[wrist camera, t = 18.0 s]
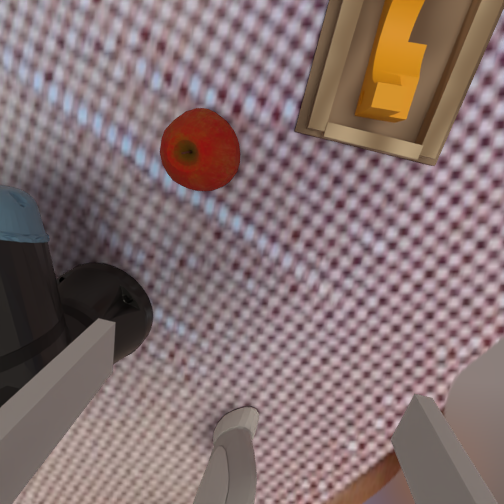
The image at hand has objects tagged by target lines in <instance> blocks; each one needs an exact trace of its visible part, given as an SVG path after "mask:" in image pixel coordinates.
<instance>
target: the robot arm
mask: <svg viewBox="0 0 504 504" xmlns="http://www.w3.org/2000/svg"><path fill="white" fill-rule="evenodd" d="M48 241H49V235H48V234H47V233H45V230H44V227H43V223H42V220H41V216H40V213H39V209H38V206H37V204H36V202H35V200H34V199H33V198H32V197H31V196H30V195H29V194H27V193H26V192H24V191H22V190H20V189H17V188H14V187H10V186H3V185H0V504H12V503H13V502H14V501H15V499H16V498H17V497H18V495H19V494H20V493H21V491H22V490H23V489H24V487H25V486H26V485H27V484H28V482H29V481H30V480H31V478H32V477H33V476H34V474H35V473H36V472H37V470H38V469H39V468H40V467H41V465H42V464H43V463H44V461H45V460H46V459H47V457H48V456H49V455H50V453H51V452H52V451H53V449H54V448H55V447H56V446H57V444H58V443H59V442H60V440H61V439H62V438H63V436H64V435H65V434H66V432H67V431H68V430H69V429H70V427H71V426H72V425H73V423H74V422H75V421H76V419H77V418H78V417H79V415H80V414H81V413H82V412H83V410H84V409H85V408H86V406H87V405H88V404H89V402H90V401H91V400H92V398H93V397H94V396H95V395H96V393H97V392H98V391H99V389H100V388H101V387H102V385H103V384H104V383H105V381H106V380H107V379H108V378H109V376H110V375H111V374H112V372H113V364H114V363H116V362H118V361H119V360H121V359H122V358H124V357H126V356H128V355H130V354H131V353H133V352H134V351H135V350H136V349H137V348H138V347H139V346H140V345H141V344H142V342H143V341H144V340H145V338H146V337H147V335H148V334H149V332H150V329H151V326H152V320H153V314H152V308H151V304H150V301H149V299H148V297H147V295H146V293H145V292H144V290H143V289H142V287H141V286H140V285H139V284H138V283H137V282H136V281H135V280H134V279H133V278H132V277H131V276H129V275H128V274H127V273H125V272H123V271H122V270H120V269H118V268H115V267H113V266H110V265H106V264H100V263H88V264H83V265H79V266H77V267H75V268H73V269H71V270H69V271H68V272H66V273H64V274H63V275H61V276H60V277H59V278H57V279H56V277H55V273H54V268H53V264H52V259H51V255H50V250H49V246H48ZM391 442H392V444H393V447H394V450H395V452H396V455H397V457H398V460H399V462H400V465H401V468H402V470H403V473H404V475H405V478H406V481H407V483H408V486H409V488H410V491H411V494H412V496H413V499H414V501H415V504H498V503H497V501H496V500H495V498H494V496H493V495H492V493H491V491H490V490H489V488H488V487H487V485H486V484H485V482H484V480H483V479H482V477H481V475H480V474H479V472H478V471H477V469H476V467H475V466H474V464H473V463H472V461H471V459H470V458H469V456H468V455H467V453H466V451H465V450H464V448H463V447H462V445H461V443H460V442H459V440H458V439H457V437H456V435H455V434H454V432H453V430H452V429H451V427H450V426H449V424H448V422H447V421H446V419H445V418H444V416H443V414H442V413H441V411H440V410H439V408H438V406H437V405H436V403H435V402H434V400H433V398H430V397H426V396H422V395H417V394H414V396H413V398H412V400H411V402H410V404H409V405H408V407H407V409H406V411H405V413H404V415H403V417H402V419H401V421H400V423H399V425H398V426H397V428H396V430H395V432H394V434H393V436H392V438H391Z"/></svg>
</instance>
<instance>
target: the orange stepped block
mask: <svg viewBox="0 0 504 504" xmlns="http://www.w3.org/2000/svg"><path fill="white" fill-rule="evenodd" d="M424 1H425V0H385V2H384V5H383V9H382V13H381V17H380V20H379V24H378V28H377V32H376V36H375V39H374V43H373V47H372V51H371V55H370V58H369V62H368V66H367V70H366V73H365V77H364V81H363V85H362V89H361V92H360V96H359V100H358V104H357V108H356V111H355V115H354V116H358V117H364V118H370V119H376V120H381V121H387V122H393V123H395V122H399V121H403V120H406V119H407V116H408V112H409V109H410V106H411V103H412V100H413V97H414V94H415V91H416V88H417V84H418V81H419V77H420V69H421V64H422V60H423V56H424V53H425V50H426V46H427V45H425V44H418V43H412V42H408V40H409V37H410V35H411V32H412V29H413V26H414V24H415V21H416V19H417V17H418V14H419V12H420V10H421V8H422V6H423V4H424Z"/></svg>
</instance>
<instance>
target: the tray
mask: <svg viewBox="0 0 504 504" xmlns="http://www.w3.org/2000/svg"><path fill="white" fill-rule="evenodd" d="M384 2H385V0H329V3H328V7H327V11H326V15H325V19H324V22H323V26H322V30H321V34H320V38H319V41H318V45H317V49H316V53H315V56H314V60H313V64H312V68H311V72H310V75H309V79H308V83H307V87H306V90H305V94H304V98H303V102H302V106H301V109H300V113H299V117H298V121H297V124H296V128H295V132H298V133H302V134H306V135H310V136H314V137H318V138H322V139H326V140H330V141H334V142H338V143H342V144H346V145H350V146H354V147H358V148H362V149H366V150H370V151H374V152H378V153H382V154H387V155H391V156H395V157H399V158H403V159H407V160H411V161H415V162H419V163H423V164H427V165H431V166H435V164H436V162H437V160H438V158H439V155H440V153H441V151H442V148H443V146H444V144H445V141H446V139H447V137H448V135H449V132H450V130H451V128H452V125H453V123H454V121H455V119H456V116H457V114H458V112H459V109H460V107H461V105H462V103H463V100H464V98H465V96H466V93H467V91H468V89H469V86H470V84H471V82H472V80H473V77H474V75H475V73H476V70H477V68H478V66H479V64H480V61H481V59H482V57H483V54H484V52H485V50H486V48H487V45H488V43H489V41H490V38H491V36H492V34H493V31H494V29H495V27H496V25H497V22H498V20H499V18H500V15H501V13H502V11H503V9H504V0H425V1H424V4H423V6H422V8H421V10H420V12H419V14H418V17H417V19H416V21H415V24H414V26H413V29H412V32H411V35H410V37H409V40H408V42H412V43H418V44H425V45H427V46H426V50H425V53H424V56H423V60H422V64H421V69H420V77H419V81H418V84H417V88H416V91H415V94H414V97H413V100H412V103H411V106H410V109H409V112H408V116H407V119H406V120H403V121H399V122H395V123H393V122H387V121H381V120H376V119H370V118H364V117H358V116H354V115H355V111H356V108H357V104H358V100H359V96H360V92H361V89H362V85H363V81H364V77H365V73H366V70H367V66H368V62H369V58H370V55H371V51H372V47H373V43H374V39H375V36H376V32H377V28H378V24H379V20H380V17H381V13H382V9H383V5H384Z"/></svg>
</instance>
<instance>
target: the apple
mask: <svg viewBox="0 0 504 504" xmlns="http://www.w3.org/2000/svg"><path fill="white" fill-rule="evenodd" d="M160 155H161V160H162V164H163V166H164V168H165V170H166V171H167V173H168V175H169V176H170V177H171V178H172V180H174V181H175V182H176V183H178V184H180V185H182V186H184V187H186V188H189V189H192V190H196V191H212V190H215V189H218V188H220V187H223V186H224V185H225V184H227V183H228V182H230V181H231V179H232V178H233V177H234V175H235V174H236V173H237V170H238V167H239V163H240V149H239V143H238V139H237V136H236V134H235V132H234V130H233V129H232V127H231V126H230V125H229V124H228V122H227V121H226V120H225V119H223V118H222V117H221V116H219V115H218V114H217V113H216V112H213V111H211V110H209V109H205V108H196V109H193V110H190V111H186V112H185V113H183V114H182V115H181V116H179V117H178V118H176V119H175V120H174V121H173V122H172V123H171V124H170V125H169V126H168V127H167V128H166V129H165V131H164V134H163V137H162V140H161V147H160Z"/></svg>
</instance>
